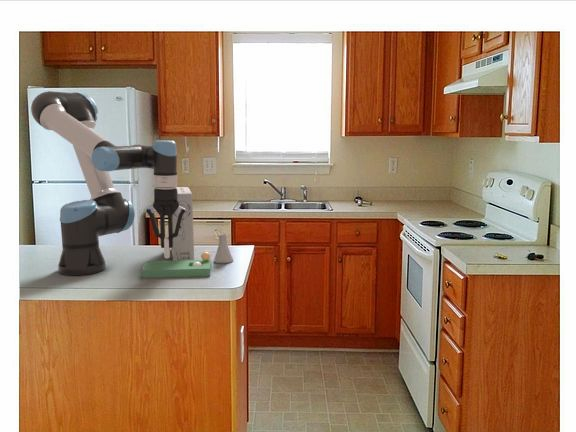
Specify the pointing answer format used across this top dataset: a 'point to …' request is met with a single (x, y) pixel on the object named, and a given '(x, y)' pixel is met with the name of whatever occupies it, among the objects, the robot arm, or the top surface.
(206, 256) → the orange ball
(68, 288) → the top surface
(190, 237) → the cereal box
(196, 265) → the ball
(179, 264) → the green
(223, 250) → the flask
